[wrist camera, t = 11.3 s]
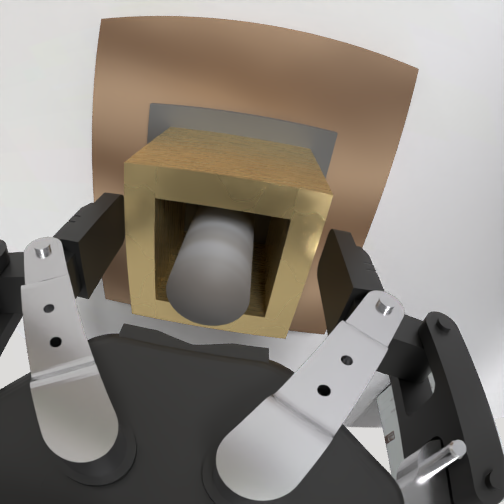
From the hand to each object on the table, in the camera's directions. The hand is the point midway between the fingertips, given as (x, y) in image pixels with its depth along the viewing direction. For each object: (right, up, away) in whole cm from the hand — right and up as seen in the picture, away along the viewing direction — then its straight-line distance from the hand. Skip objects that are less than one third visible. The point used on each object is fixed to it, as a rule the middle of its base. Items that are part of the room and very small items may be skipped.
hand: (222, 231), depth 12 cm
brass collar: (0, +2, +2) cm, 3 cm away
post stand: (0, +2, +4) cm, 4 cm away
